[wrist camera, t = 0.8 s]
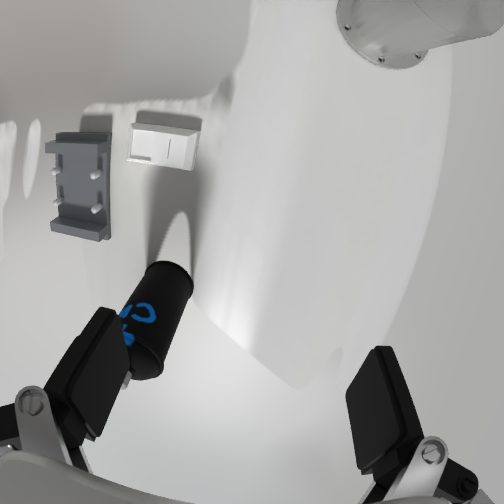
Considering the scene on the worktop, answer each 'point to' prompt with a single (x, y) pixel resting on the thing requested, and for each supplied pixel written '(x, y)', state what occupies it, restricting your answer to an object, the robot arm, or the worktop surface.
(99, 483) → the robot arm
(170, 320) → the aerosol can
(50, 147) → the pin tray
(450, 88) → the worktop surface
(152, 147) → the white rectangular block
